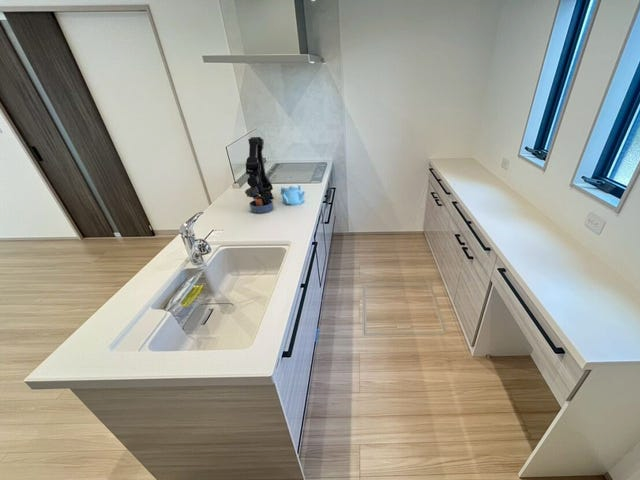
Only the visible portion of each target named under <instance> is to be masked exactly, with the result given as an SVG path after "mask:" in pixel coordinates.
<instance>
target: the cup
mask: <svg viewBox="0 0 640 480" xmlns="http://www.w3.org/2000/svg"><path fill="white" fill-rule="evenodd" d="M260 198H261V195H259V196H257V197H255V198H254V199H255V203H256V206H264V205H263V201H262V200H261V199H260ZM254 199H253V200H254Z"/></svg>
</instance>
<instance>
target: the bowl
mask: <svg viewBox="0 0 640 480" xmlns="http://www.w3.org/2000/svg"><path fill="white" fill-rule="evenodd" d="M248 205H249V210H250V211H251V212H252V213H255V214H265V213H269V212H271V211H273V210H274V203H273V199H268V202H267V205H264V206H256V203H255V201H254V200H252V201H250V202H249V204H248Z"/></svg>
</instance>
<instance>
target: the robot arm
mask: <svg viewBox="0 0 640 480" xmlns="http://www.w3.org/2000/svg"><path fill="white" fill-rule="evenodd" d="M247 141H248V146H249V148H248V149H249V150H248V151H249V152H248V155H249V156H248V157H247V158H246V161H245V175H248V177H247V179H246V182H247V185H248V186H249V187H248V188H247V189H246V190H245V191H244V194H245V195H246V197H247V198H252V199H253V201H255V199H254V198H255V197H257V196H261V198H260V199H261V200H262V201H263V205H267V202H268V199H270V200H273V199H274V196H273V195H274V194H273V192H272V190H274V188H273V184H272V183H271V181H270V178H269V177H268V175H267V174H266V167H265V162H264V161H265V160H264V157H263V150H264V148H265V147H264V146H265V141H264V138H262V136H252V137H250V138H248V139H247Z"/></svg>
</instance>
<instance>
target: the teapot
mask: <svg viewBox="0 0 640 480" xmlns="http://www.w3.org/2000/svg"><path fill="white" fill-rule="evenodd" d="M305 194H306V191H302V185H298V186H297V187H295V186H293V185H290V186H289V187H287V188H286V187H284V186H283V187H280V195H281V197H282V202H283V203H284V204H285V205H287V206H297V205H300V204H302V203H303V202H304V199H305Z"/></svg>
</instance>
